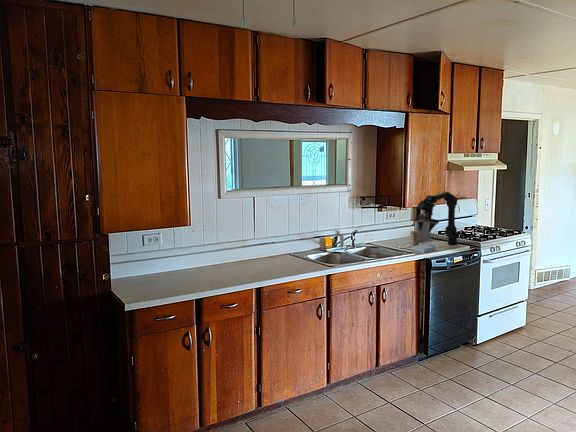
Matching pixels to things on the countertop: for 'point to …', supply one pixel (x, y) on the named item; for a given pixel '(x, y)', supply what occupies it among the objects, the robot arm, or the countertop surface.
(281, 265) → the countertop surface
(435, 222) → the robot arm
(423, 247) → the plinth
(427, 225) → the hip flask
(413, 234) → the walnut block
